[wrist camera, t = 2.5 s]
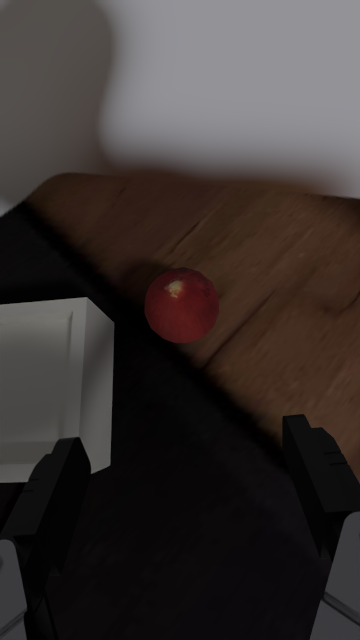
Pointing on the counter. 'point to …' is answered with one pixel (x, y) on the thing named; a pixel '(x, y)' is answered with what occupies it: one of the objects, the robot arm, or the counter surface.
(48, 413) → the tray
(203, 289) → the onion
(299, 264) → the counter surface
